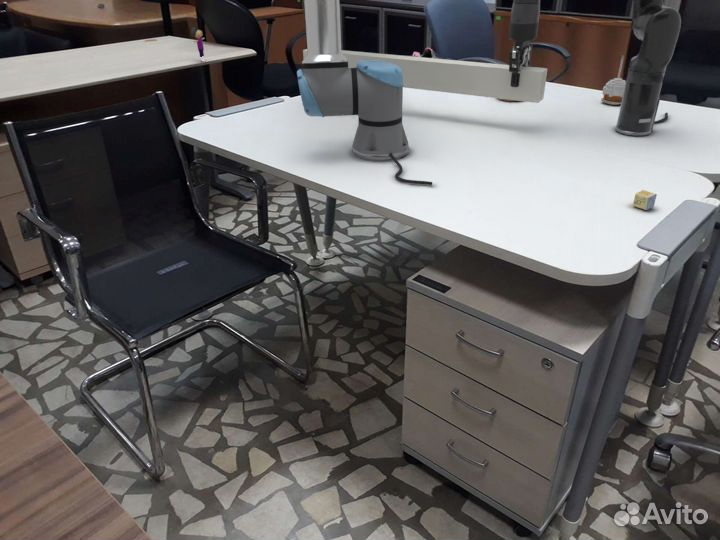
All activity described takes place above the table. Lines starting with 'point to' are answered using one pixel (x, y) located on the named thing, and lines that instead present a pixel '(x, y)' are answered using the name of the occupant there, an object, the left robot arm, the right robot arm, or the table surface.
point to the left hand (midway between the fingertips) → (326, 74)
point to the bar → (460, 76)
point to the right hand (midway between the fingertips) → (517, 84)
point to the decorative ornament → (614, 89)
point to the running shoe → (429, 54)
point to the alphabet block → (644, 200)
